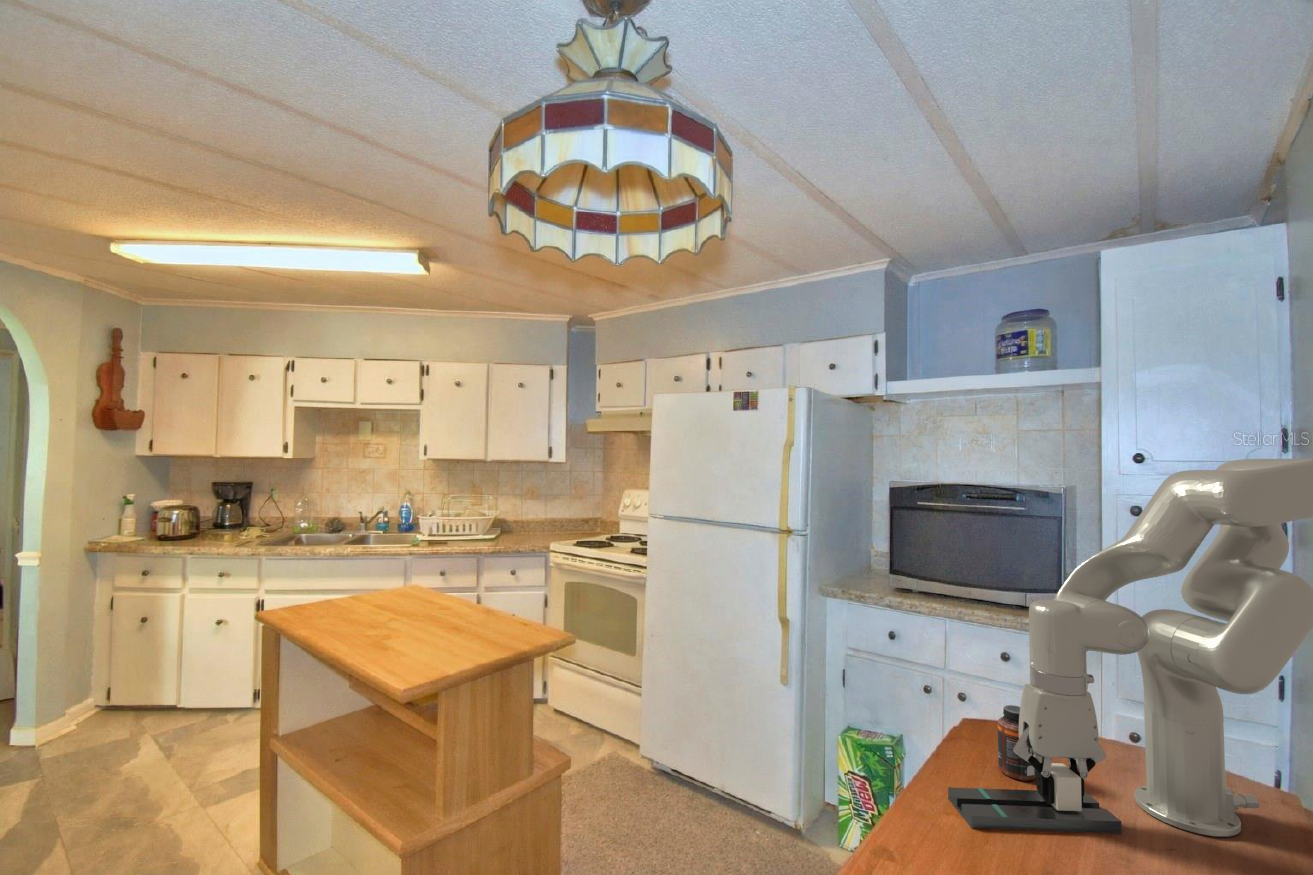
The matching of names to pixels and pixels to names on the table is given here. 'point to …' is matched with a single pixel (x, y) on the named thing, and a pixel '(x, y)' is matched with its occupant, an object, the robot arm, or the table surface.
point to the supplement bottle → (1012, 746)
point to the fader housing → (1028, 812)
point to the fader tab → (1066, 788)
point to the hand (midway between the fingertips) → (1060, 798)
